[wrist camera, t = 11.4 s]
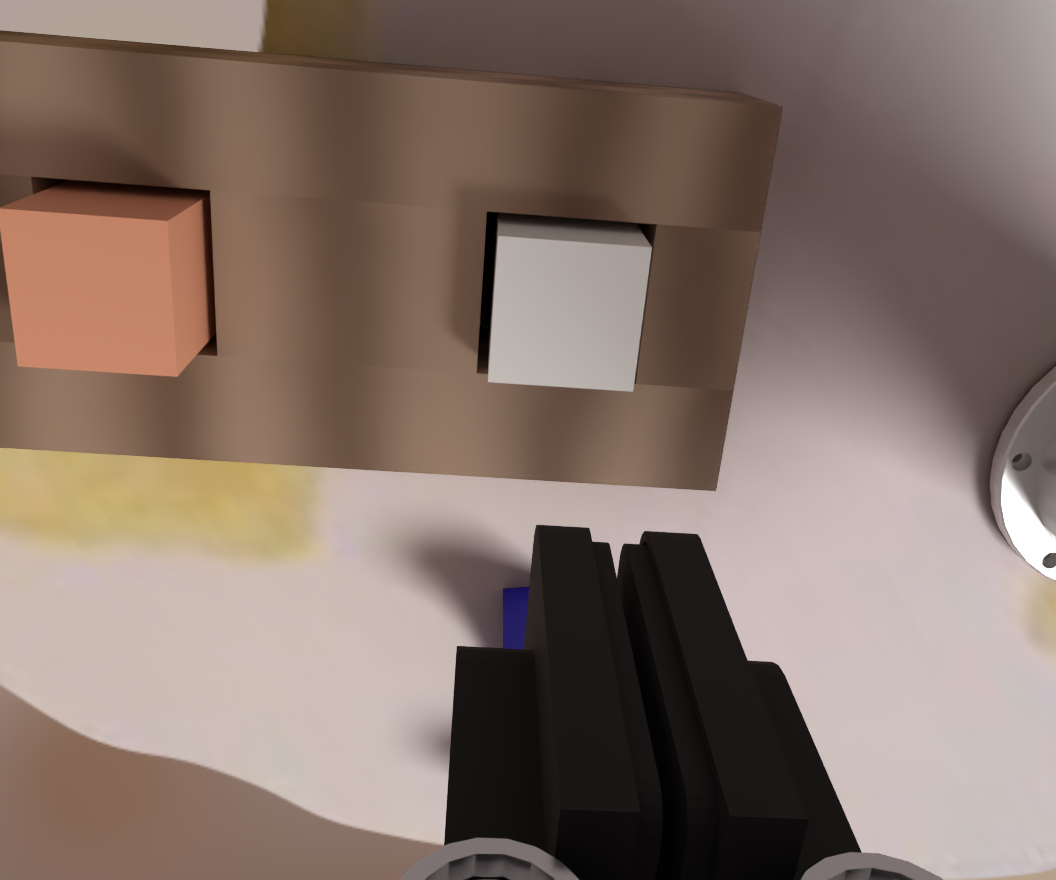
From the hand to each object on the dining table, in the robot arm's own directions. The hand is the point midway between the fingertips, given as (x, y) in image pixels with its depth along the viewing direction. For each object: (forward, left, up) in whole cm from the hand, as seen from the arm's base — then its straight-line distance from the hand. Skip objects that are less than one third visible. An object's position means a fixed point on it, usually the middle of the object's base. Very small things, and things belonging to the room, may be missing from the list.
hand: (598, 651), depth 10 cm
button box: (+6, +3, -31) cm, 32 cm away
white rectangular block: (-2, +3, -31) cm, 31 cm away
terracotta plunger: (+13, +3, -29) cm, 32 cm away
